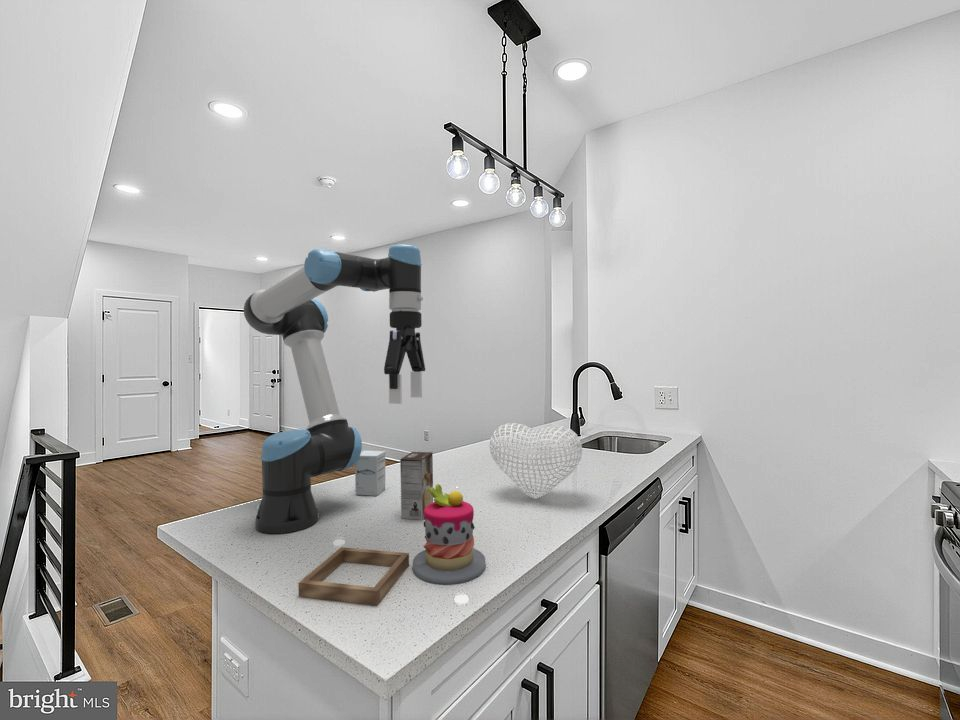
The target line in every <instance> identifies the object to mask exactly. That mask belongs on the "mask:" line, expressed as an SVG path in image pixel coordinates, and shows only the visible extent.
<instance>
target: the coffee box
mask: <svg viewBox="0 0 960 720" xmlns="http://www.w3.org/2000/svg"><path fill="white" fill-rule="evenodd" d="M433 458H434V457H433V452H430V451H412V452H411V451H410V452H409V453H407V454H406V455H404V456H403V457H402V458H400V460H399V461H400V465H399V466H400V507H401V508H400V509H401V511H400V514H401V515H400V517H401V519H410V520H422V521H423V520H424V509H425V507H426V506H427V505H429V504H431V503H433V502H434V497H433V496H432V495H431V493H430V490H429V489H430V488H431V487H433V488H434V474H433V473H434V472H433V471H434V469H433Z"/></svg>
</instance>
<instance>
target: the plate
mask: <svg viewBox="0 0 960 720" xmlns="http://www.w3.org/2000/svg"><path fill="white" fill-rule="evenodd" d="M485 569H486V557H485V555H484V554H483V552H481V550H478V549H477V548H474V547H473V561H472V563H471V564H470V565H468V566H467V567H465V568H462V569H458V570H452V571H443V570H437V569H433V568H431V567H429V566H428V565H427V564H426V549H423V550H422V551H420V552H418V553H417V554H415V556H414V557H413V559H412V572H413V574H414V575H415V577H417V578H418V579H420V580H422V581H424V582H427V583H431V584H435V585H436V584H437V585H456V584H462V583H465V582H469V581H472V580H474V579H476V578H478V577H480V574H481V573H482V572H483V573H484V571H485ZM483 573H482V574H483ZM482 574H481V575H482ZM477 576H478V577H477ZM471 579H472V580H471Z"/></svg>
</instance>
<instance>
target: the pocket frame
mask: <svg viewBox="0 0 960 720" xmlns="http://www.w3.org/2000/svg"><path fill="white" fill-rule="evenodd" d="M344 562H345V563H355V564H362V565H374V566H386V567H389V568H388V570H387V571H386V572H385V573H384V574H383V576H382V577H381V578H380V579H379V581H377V583H375V585H374V586H368V585H367V586H365V585H357V584H346V583H341V582H340V583H338V582H329V581H324V580H325V579H326V578H328V576H330V575H331V574H332V573H333V572H334V571H335V570H337V568H338V567H339V566H340V564H341V565H342V564H343V563H344ZM409 566H410V553H409V552H401V551H400V552H398V551H390V550H389V551H388V550H378V549H366V548H355V547H354V548H353V547H344V546H341V547H339V548H338V549H336V551H335V552H333V553H332V554H331V555H330V556H328V558H326V559H325V560H324V561H323V562H322V563H320V564H319V565H318V566H317V567H315V568H314V569H313V570H312V571H311V572H310V573H308V574H307V575H306V576H305V577H304V578H302V579H301V580H300V581H299V582H298V585H297V586H298V597H301V596H302V597H303V598H310V599H317V600H319V599H320V600H328V601H336V602H345V603H353V604H354V603H355V604H361V605H362V604H363V605H369V606H370V605H371V606H378V605H379V604H380V603H381V602H382V600H383V599H384V598H385V596H386V595H387V594H388V593H389V591H390V590H391V589H392V587H393V586H394V585H395V584H396V582H397V581H398V580H399V579H400V577H401V576H402V575H403V574H404V572H406V570H407V569H408V567H409ZM321 581H322V582H321ZM302 597H301V598H302Z"/></svg>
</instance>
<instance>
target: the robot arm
mask: <svg viewBox="0 0 960 720" xmlns="http://www.w3.org/2000/svg"><path fill="white" fill-rule="evenodd" d="M421 257H422V256H421V250H420V248H419V247H418V246H415V245H412V244H403V243H402V244H401V243H399V244H394V245H391V246H390V247H389V248H388V256H387V257H383V258H372V257H365V256H360V255H354V254H349V253H348V254H347V253H342V252H339V251H334V250H331V249H321V248H320V249H319V248H314V249H312V250H311V251H309V252H308V253H307V256H306V257H305V260H304V266H303V267H301V268H300V269H298V270H297V271H295V272H293V273H291V274H290V275H289V276H287V277H285V278H283V279H282V280H280V281H279V282H277V283H276V284H274V285H272V286H270V287H269V288H261V289H259V290H256V291H255V292H254V293H252V294H251V295H249V297H247V299H246V300H245V302H244V305H243V315H244V318H245V320H246V322H247V324H248V325H249V326H250V327H251V328H252V329H254V330H255V331H257V332H259V333H261V334H265V335H273V336H274V335H275V336H278V335H279V336H281V337H282V341H283V344H284V345H285V346H286V347H288V348H290V349H291V354H292V358H293V361H294V366H295V370H296V374H297V378H298V379H297V380H298V382H299V386H300V391H301V395H302V399H303V402H304V407H305V410H306V415H307V418H308V422H309V424H308V425H307V427H306V429H301V428H299V429H293V430H285V431H281V432H277V433H273V434H271V435H269V436H268V437H266V439H264V441H263V442H262V444H261V455H260V458H261V480H262V483H261V484H262V486H261V487H262V496H261V500H260V502H259V506H258V510H257V512H256V513H257V514H256V516H255V522H254V523H255V529H256V530H257V531H258V532H260V531H261V533H263V532H264V533H263V534H274V533H275V534H287V533H293V532H297V531H301V530H305V529H306V528H309V527H311V526H313V525H314V524H316V523H317V522H318V521H319V508H318V507H317V504H316V501H315V498H314V495H313V493H312V480H311V479H312V478H315V477H318V476H323V475H327V474H330V473H334V472H342V471H344V470H347V469H349V468H353V466H355V464H356V463H357V461H358V460H359V457H360V454H361V452H362V451H363V450H362V449H363V445H362V444H363V443H362V437H361V434H360V432H359V431H358V430H357V429H356V428H355V427H353V426H349V423H348V420H347V418H345V417H344V416H342V415H341V413H340V410H339V406H338V401H337V398H336V395H335V390H334V387H333V383H332V380H331V376H330V373H329V369H328V364H327V361H326V358H325V357H326V356H325V353H324V350H323V346H322V340H323V339H324V338H325V333H326V331H327V330H328V328H329V327H328V326H329V324H328V322H329V316H328V313H327V312H328V311H327V309H326V307H325V306H324V305H323V303H322V302H321V301H320V300H318V299H316V298H318V296H320V295H322V294H325V293H326V292H328V291H330V290H332V289H334V288H335V287H339V286H340V287H348V288H355V289H357V288H358V289H360V290H362V291H363V292H373V293H374V292H377V291H383V290H388V293H389V294H388V296H389V297H388V300H389V301H388V303H389V304H388V308H389V309H388V310H391V311H390V313H389V327H390V328H392V329H395V330H389V338H388V339H389V341H388V346H387V351H386V357H385V362H384V368H383V372H384V375H388V393H389V394H388V403H389V404H391V405H392V404H395V405H396V404H397V405H399V404H400V405H401V404H403V402H402V401H403V400H402V399H403V397H402V394H403V393H402V392H403V389H402V388H403V387H402V381H403V380H402V374H401V373H400V372H401V369H402V366H403V362H404V359H405V355H407V358H408V362H409V365H410V367H411V370H412V371H410V398H422V397H423V387H422V386H423V382H422V380H423V378H422V377H423V375H422V373H423V372H425V371H426V366H425V364H426V363H425V360H424V359H425V358H424V354H423V348H422V342H421V333H420V332H419V331H418V332H416V330H415V329H420V328H421V327H422V324H423V323H422V322H423V321H422V313H421V312H420V311H421V310H422V301H424V298H423V296H422V259H421ZM292 531H293V532H292ZM286 532H287V533H286Z"/></svg>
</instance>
